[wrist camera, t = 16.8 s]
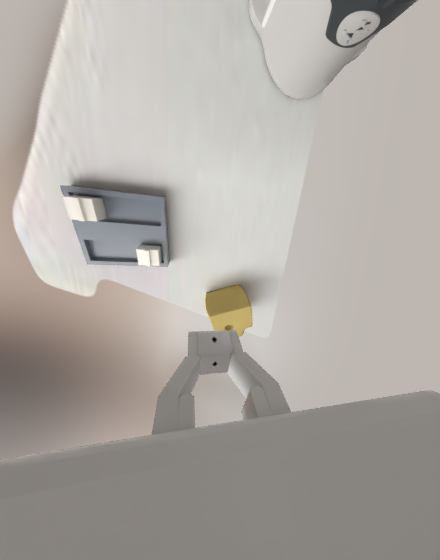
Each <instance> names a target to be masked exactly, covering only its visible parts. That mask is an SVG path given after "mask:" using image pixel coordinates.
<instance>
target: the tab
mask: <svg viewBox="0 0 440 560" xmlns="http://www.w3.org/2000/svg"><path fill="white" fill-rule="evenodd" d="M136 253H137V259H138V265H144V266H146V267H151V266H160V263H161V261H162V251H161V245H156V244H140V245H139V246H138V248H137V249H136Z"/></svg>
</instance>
